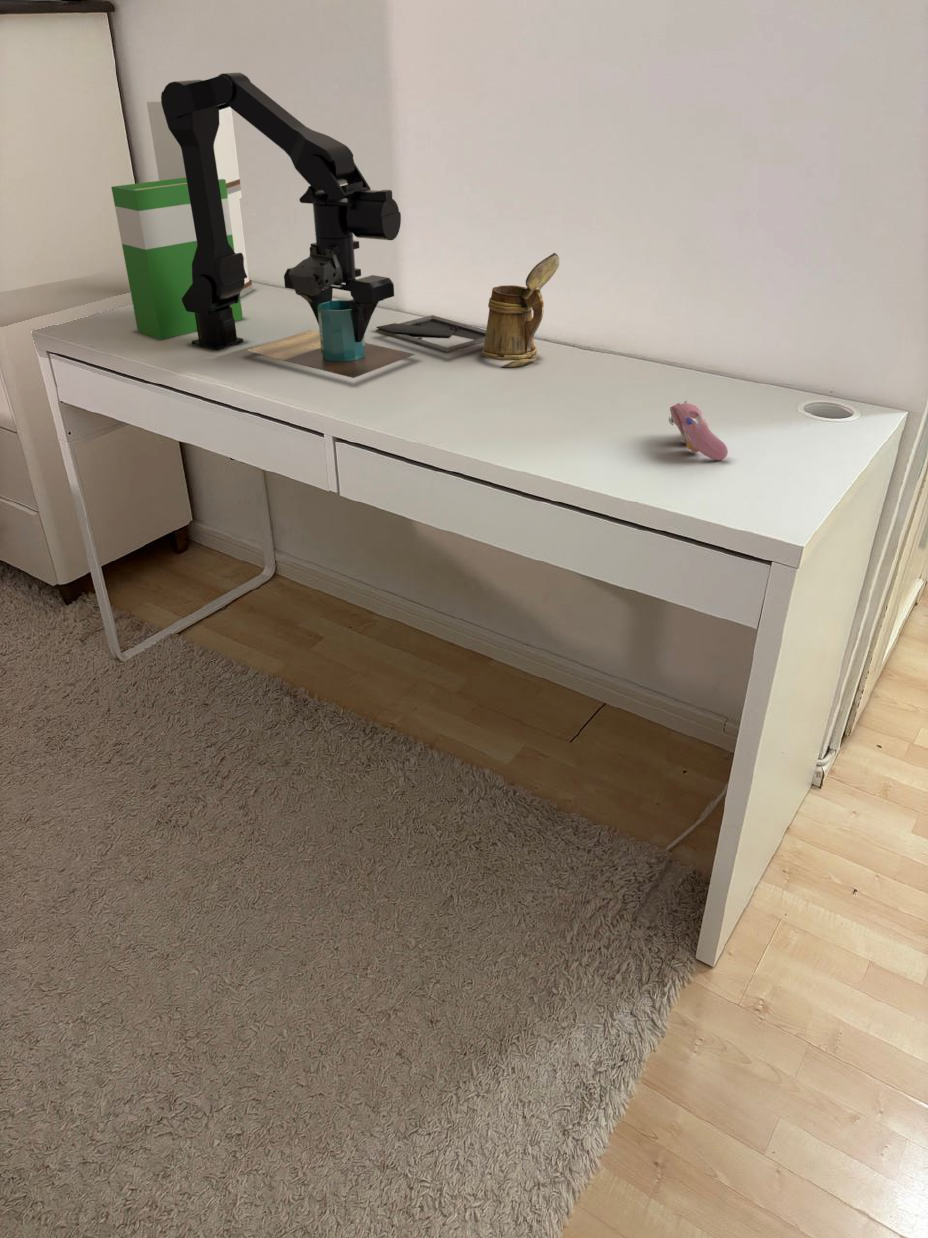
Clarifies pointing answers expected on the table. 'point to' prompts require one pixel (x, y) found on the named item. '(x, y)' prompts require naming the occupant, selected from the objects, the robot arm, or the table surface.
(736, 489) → the table surface
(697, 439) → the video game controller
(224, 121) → the tall white box
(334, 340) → the teal cup
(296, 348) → the serving board
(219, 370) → the table surface
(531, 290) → the wooden mug
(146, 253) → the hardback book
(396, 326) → the picture frame
